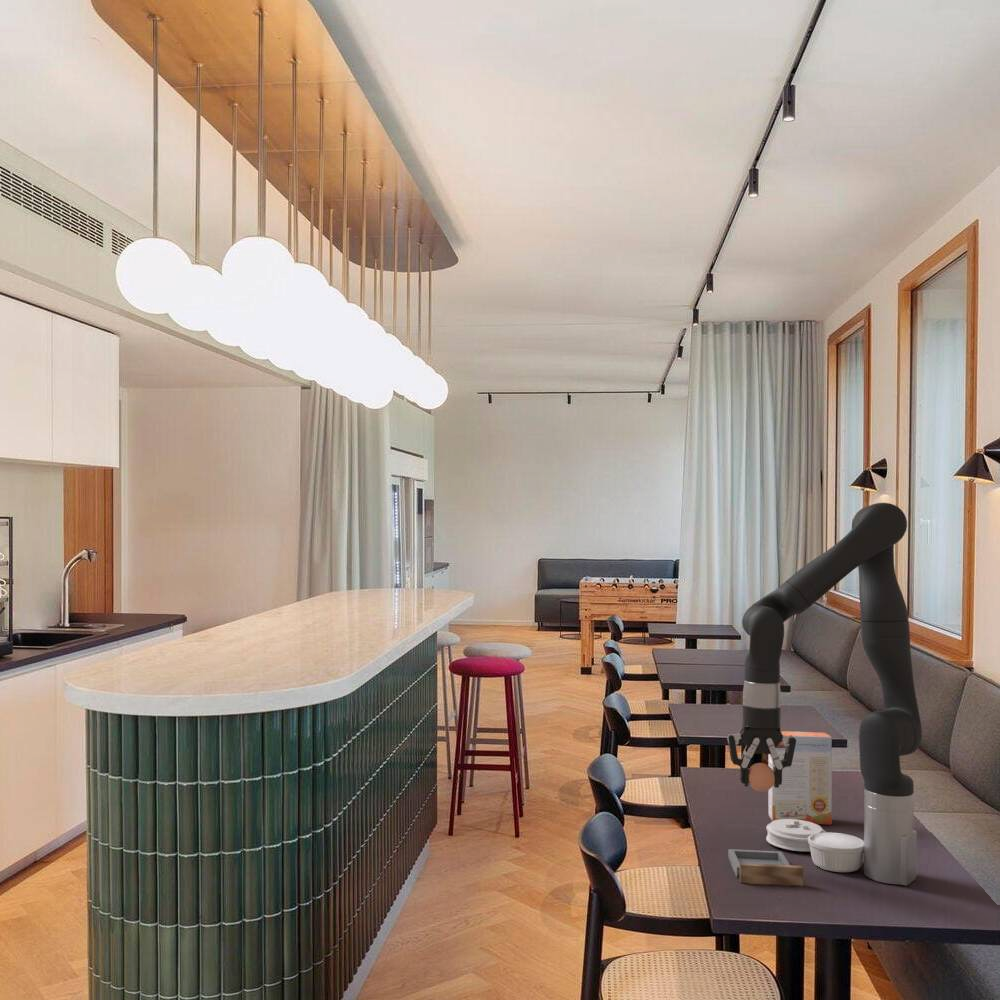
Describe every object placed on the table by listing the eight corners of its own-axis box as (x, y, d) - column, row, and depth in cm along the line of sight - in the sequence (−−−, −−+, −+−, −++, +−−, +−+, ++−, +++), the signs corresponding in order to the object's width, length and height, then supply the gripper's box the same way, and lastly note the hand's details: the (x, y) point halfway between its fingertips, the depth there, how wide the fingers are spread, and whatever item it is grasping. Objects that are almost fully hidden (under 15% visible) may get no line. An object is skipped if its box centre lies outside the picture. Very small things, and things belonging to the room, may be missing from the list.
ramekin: (804, 855, 205) (804, 830, 205) (859, 858, 203) (859, 833, 204) (812, 873, 194) (812, 846, 194) (870, 876, 192) (870, 850, 192)
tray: (781, 861, 201) (781, 851, 201) (793, 880, 190) (793, 869, 190) (728, 858, 202) (728, 849, 202) (736, 877, 191) (736, 867, 191)
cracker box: (826, 818, 232) (826, 731, 233) (832, 826, 226) (833, 736, 227) (767, 815, 234) (768, 729, 234) (771, 823, 228) (772, 734, 228)
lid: (755, 845, 212) (755, 822, 212) (783, 833, 221) (783, 811, 221) (809, 860, 203) (809, 836, 203) (836, 846, 212) (836, 823, 212)
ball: (779, 790, 197) (779, 763, 197) (767, 796, 193) (767, 768, 193) (754, 785, 200) (754, 758, 201) (741, 790, 196) (742, 763, 196)
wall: (801, 883, 188) (801, 865, 188) (803, 886, 187) (803, 867, 187) (739, 880, 189) (739, 862, 189) (740, 883, 188) (740, 865, 188)
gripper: (793, 701, 200) (792, 782, 200) (723, 698, 201) (722, 779, 201) (801, 708, 193) (800, 792, 192) (729, 705, 194) (727, 789, 193)
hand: (760, 785), depth 197 cm, fingers closed on ball, 5 cm apart
